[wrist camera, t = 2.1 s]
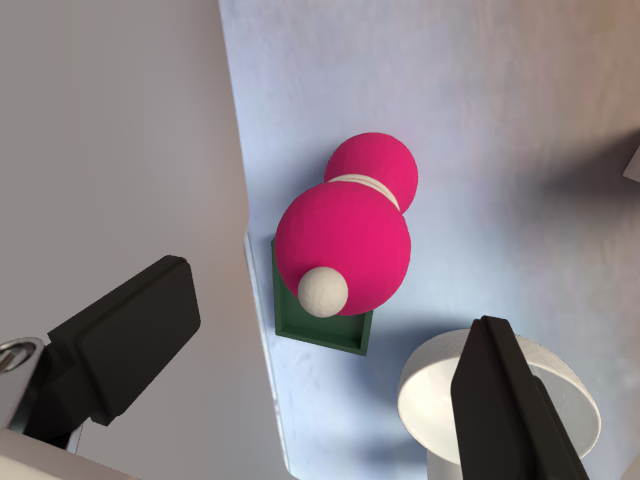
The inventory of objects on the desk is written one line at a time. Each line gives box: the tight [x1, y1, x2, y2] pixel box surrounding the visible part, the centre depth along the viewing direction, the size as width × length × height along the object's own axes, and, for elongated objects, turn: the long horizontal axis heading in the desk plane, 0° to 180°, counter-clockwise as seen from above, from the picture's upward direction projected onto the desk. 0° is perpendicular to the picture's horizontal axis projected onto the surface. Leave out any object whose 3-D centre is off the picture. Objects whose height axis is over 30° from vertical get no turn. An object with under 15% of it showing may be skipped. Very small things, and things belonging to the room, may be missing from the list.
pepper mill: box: [274, 133, 418, 318], centre depth 18 cm, size 7×7×20 cm
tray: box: [271, 238, 373, 356], centre depth 34 cm, size 14×12×2 cm
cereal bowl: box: [397, 328, 601, 466], centre depth 30 cm, size 17×17×7 cm
